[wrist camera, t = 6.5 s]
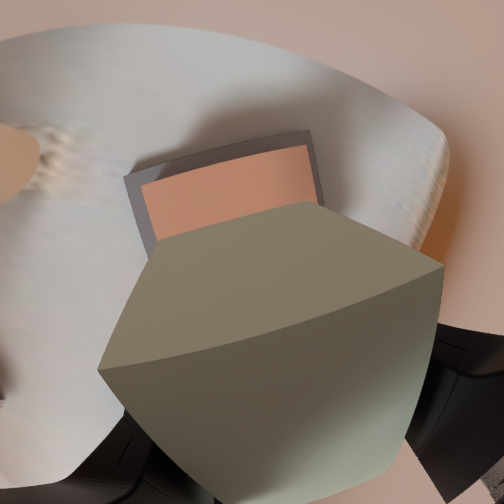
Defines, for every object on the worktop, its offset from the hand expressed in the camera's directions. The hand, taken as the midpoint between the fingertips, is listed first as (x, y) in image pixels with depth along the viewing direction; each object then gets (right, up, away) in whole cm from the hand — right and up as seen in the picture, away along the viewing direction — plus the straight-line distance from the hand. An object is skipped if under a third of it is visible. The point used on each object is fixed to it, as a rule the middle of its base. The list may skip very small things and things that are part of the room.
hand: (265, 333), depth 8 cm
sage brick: (0, 0, +1) cm, 1 cm away
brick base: (-2, +4, +11) cm, 12 cm away
